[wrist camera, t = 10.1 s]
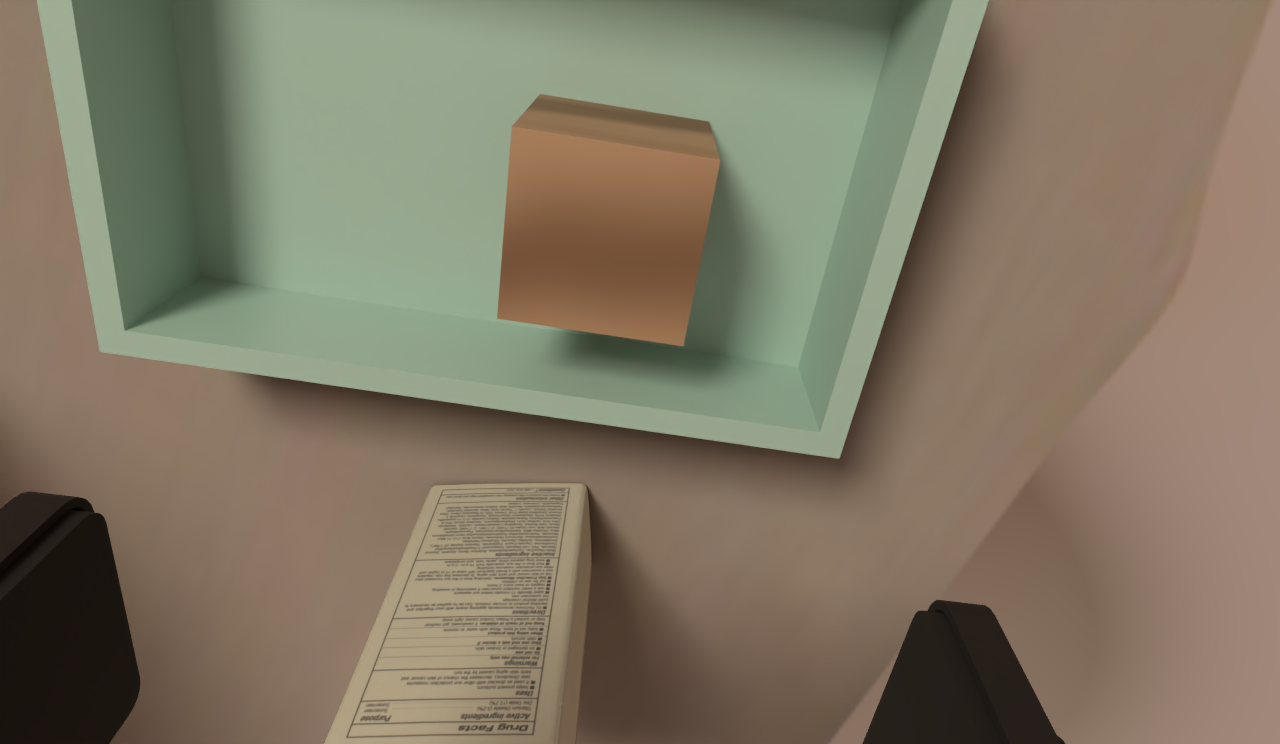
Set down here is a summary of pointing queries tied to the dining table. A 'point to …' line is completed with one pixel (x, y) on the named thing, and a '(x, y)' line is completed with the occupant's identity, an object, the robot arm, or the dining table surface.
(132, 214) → the tote
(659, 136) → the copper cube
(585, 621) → the skincare box
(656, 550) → the dining table surface
